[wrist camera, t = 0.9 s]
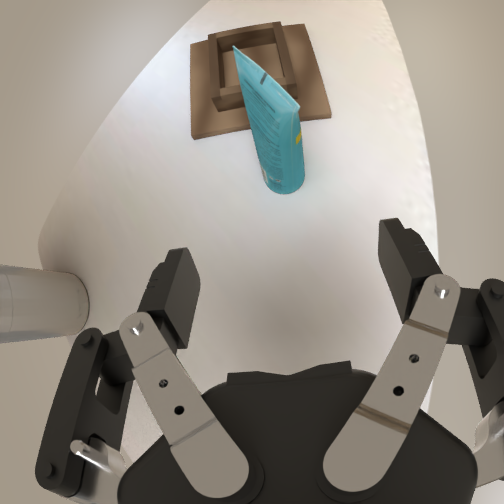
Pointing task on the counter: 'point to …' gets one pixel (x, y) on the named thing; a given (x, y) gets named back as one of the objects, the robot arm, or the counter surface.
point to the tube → (272, 126)
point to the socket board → (269, 59)
